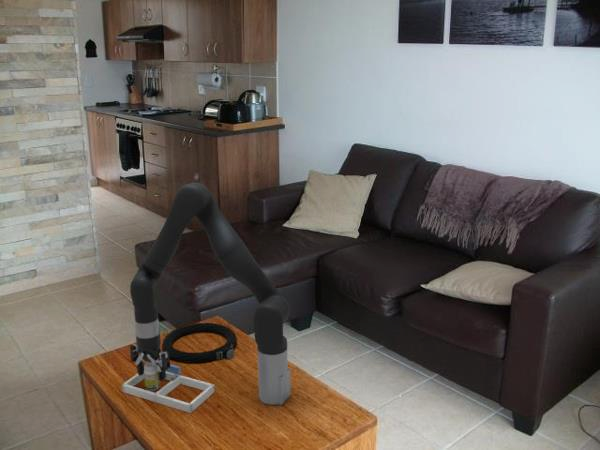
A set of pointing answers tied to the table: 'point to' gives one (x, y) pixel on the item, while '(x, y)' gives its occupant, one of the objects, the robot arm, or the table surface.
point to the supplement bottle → (151, 377)
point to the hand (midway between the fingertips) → (151, 377)
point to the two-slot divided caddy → (176, 379)
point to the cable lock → (218, 353)
